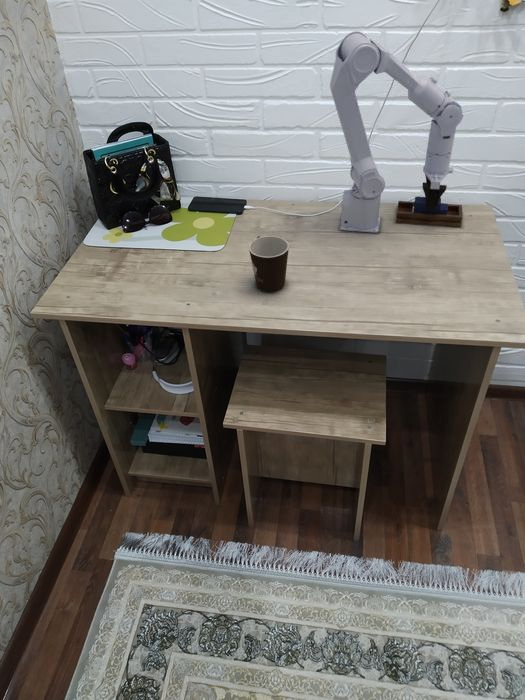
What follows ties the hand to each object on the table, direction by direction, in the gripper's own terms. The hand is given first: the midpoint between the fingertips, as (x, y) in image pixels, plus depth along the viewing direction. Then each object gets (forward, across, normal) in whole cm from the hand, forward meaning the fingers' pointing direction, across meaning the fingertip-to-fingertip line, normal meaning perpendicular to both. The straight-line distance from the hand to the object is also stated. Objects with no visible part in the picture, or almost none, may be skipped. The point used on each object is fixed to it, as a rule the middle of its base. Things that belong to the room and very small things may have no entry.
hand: (430, 202), depth 145 cm
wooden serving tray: (+4, 0, 0) cm, 4 cm away
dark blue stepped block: (+3, 0, 0) cm, 3 cm away
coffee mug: (+4, -34, +34) cm, 48 cm away
